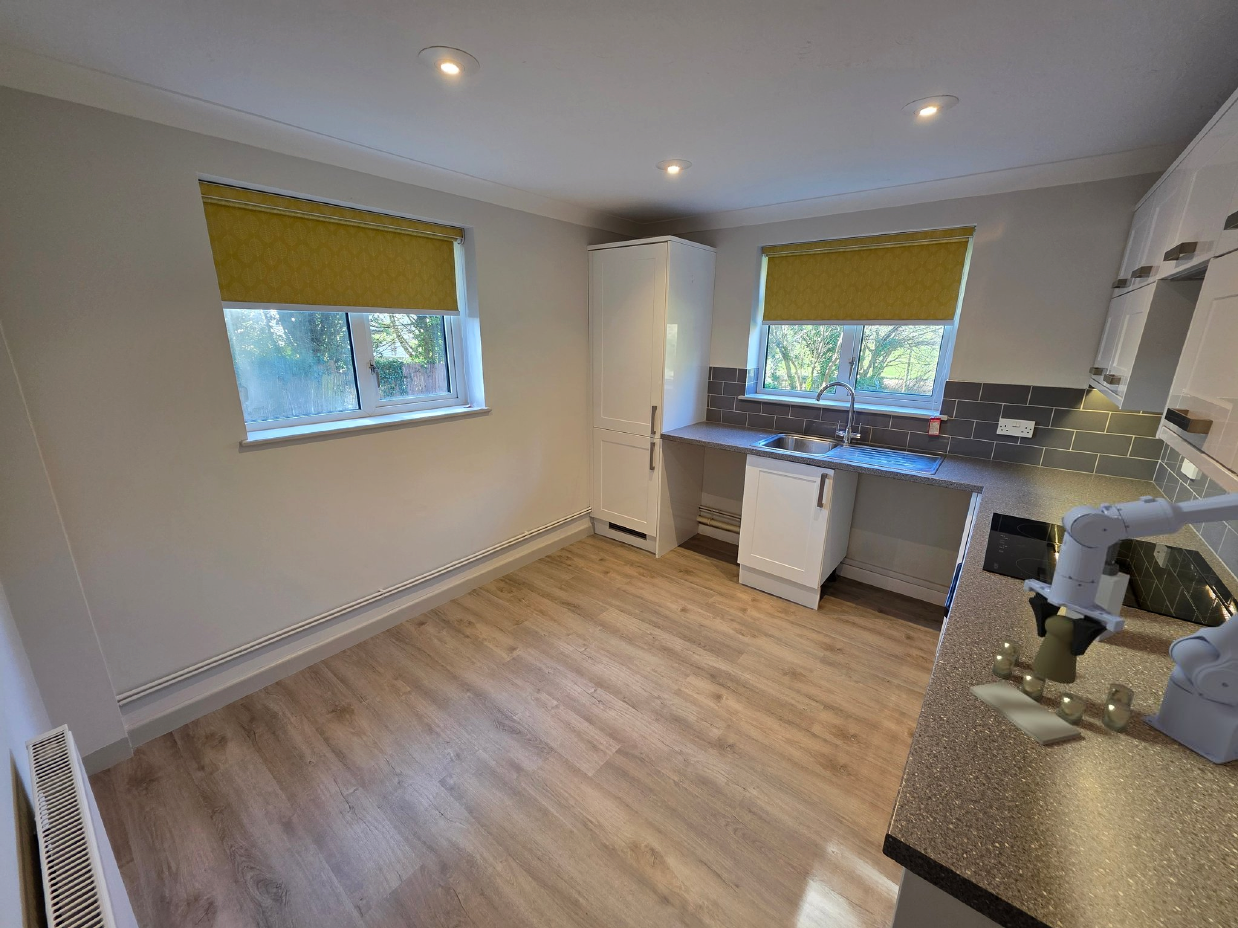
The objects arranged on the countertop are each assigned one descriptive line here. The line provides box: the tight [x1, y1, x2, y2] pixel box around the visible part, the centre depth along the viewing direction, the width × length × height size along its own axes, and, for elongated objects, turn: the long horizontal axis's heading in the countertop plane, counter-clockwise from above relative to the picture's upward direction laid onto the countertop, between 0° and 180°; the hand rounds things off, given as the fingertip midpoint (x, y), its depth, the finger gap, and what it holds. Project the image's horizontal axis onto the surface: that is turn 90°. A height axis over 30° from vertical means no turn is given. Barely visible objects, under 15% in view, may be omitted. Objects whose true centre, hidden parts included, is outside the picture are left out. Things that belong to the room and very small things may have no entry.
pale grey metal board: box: [968, 680, 1082, 746], centre depth 85 cm, size 13×8×1 cm, turn 13°
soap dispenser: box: [1064, 539, 1131, 643], centre depth 108 cm, size 6×9×22 cm
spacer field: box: [991, 638, 1135, 734], centre depth 90 cm, size 21×14×4 cm
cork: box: [1031, 614, 1078, 685], centre depth 87 cm, size 6×6×11 cm
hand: (1059, 644), depth 87 cm, fingers closed on cork, 5 cm apart
